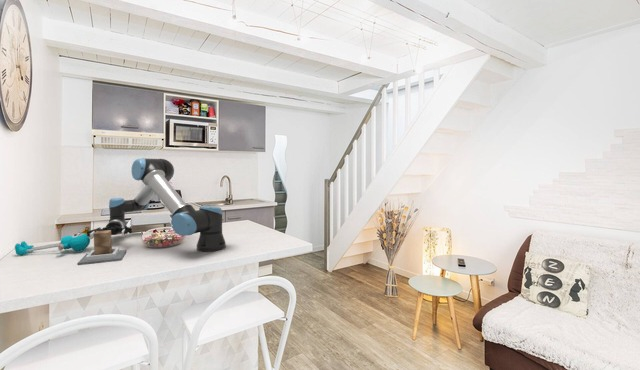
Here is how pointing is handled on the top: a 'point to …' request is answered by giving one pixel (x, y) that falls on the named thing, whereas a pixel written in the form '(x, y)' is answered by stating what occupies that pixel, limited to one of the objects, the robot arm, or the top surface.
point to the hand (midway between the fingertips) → (106, 235)
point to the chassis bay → (102, 257)
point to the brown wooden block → (102, 242)
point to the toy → (57, 244)
